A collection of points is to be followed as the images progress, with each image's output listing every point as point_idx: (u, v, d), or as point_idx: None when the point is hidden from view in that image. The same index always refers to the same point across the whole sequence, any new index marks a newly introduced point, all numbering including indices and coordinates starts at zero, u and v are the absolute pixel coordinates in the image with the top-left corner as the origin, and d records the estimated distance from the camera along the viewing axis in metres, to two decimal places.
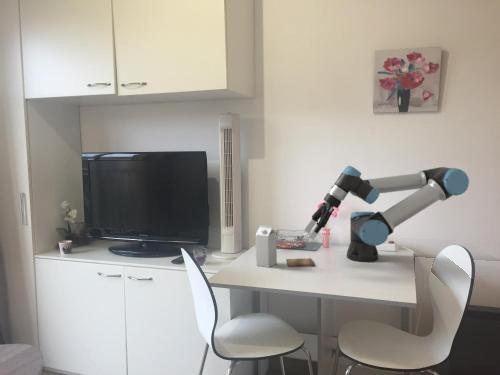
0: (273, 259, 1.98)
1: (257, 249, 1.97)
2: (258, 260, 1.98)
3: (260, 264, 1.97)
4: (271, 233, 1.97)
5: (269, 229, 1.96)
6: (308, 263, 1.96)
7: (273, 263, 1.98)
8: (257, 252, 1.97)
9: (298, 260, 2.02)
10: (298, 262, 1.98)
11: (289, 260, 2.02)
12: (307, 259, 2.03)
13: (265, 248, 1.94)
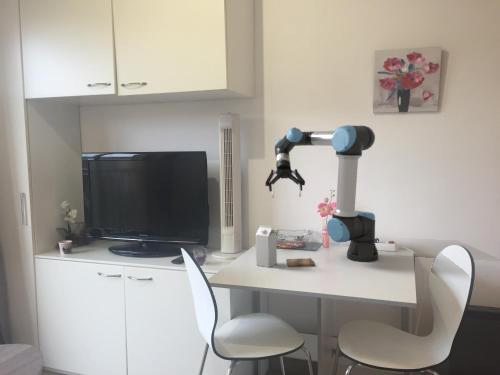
0: (273, 259, 1.98)
1: (257, 249, 1.97)
2: (258, 260, 1.98)
3: (260, 264, 1.97)
4: (271, 233, 1.97)
5: (269, 229, 1.96)
6: (308, 263, 1.96)
7: (273, 263, 1.98)
8: (257, 252, 1.97)
9: (298, 260, 2.02)
10: (298, 262, 1.98)
11: (289, 260, 2.02)
12: (307, 259, 2.03)
13: (265, 248, 1.94)
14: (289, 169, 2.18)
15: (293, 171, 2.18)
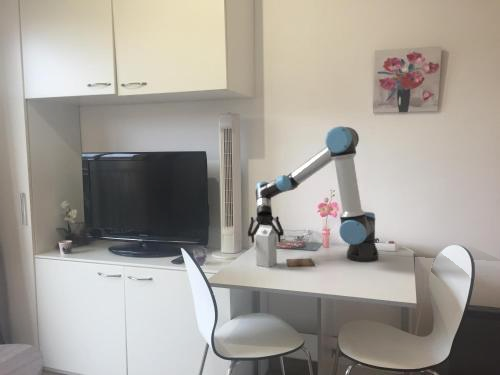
0: (273, 259, 1.98)
1: (257, 249, 1.97)
2: (258, 260, 1.98)
3: (260, 264, 1.97)
4: (271, 233, 1.97)
5: (269, 229, 1.96)
6: (308, 263, 1.96)
7: (273, 263, 1.98)
8: (257, 252, 1.97)
9: (298, 260, 2.02)
10: (298, 262, 1.98)
11: (289, 260, 2.02)
12: (307, 259, 2.03)
13: (265, 248, 1.94)
14: (270, 215, 2.06)
15: (274, 218, 2.05)
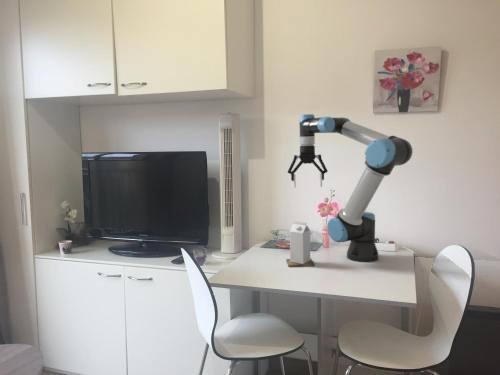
0: (307, 256, 1.98)
1: (291, 246, 1.98)
2: (292, 257, 1.98)
3: (294, 261, 1.97)
4: (305, 230, 1.97)
5: (303, 226, 1.96)
6: (308, 263, 1.96)
7: (307, 260, 1.98)
8: (291, 249, 1.98)
9: None
10: None
11: (289, 260, 2.02)
12: None
13: (300, 245, 1.95)
14: (313, 154, 2.12)
15: (317, 156, 2.13)
